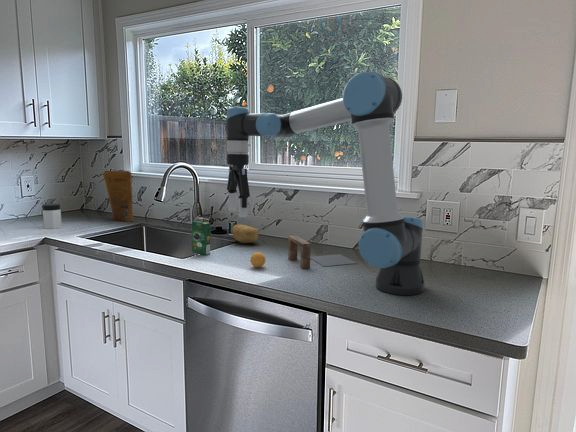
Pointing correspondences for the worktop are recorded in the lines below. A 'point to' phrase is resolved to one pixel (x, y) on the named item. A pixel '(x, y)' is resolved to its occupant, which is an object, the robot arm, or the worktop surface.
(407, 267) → the robot arm
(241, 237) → the potato
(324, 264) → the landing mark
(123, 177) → the pancake mix bag
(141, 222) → the worktop surface
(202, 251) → the coffee box
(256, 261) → the ball
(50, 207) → the jar
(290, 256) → the bridge
